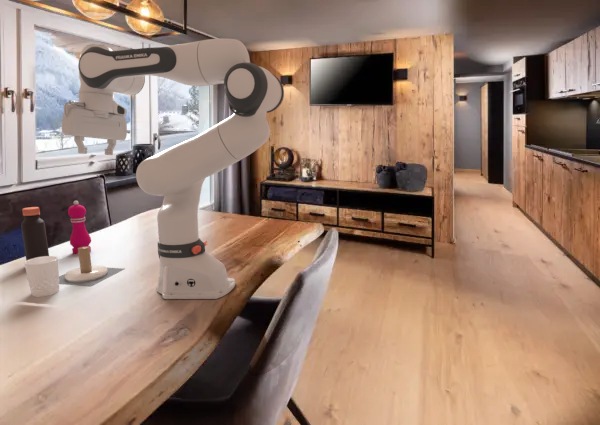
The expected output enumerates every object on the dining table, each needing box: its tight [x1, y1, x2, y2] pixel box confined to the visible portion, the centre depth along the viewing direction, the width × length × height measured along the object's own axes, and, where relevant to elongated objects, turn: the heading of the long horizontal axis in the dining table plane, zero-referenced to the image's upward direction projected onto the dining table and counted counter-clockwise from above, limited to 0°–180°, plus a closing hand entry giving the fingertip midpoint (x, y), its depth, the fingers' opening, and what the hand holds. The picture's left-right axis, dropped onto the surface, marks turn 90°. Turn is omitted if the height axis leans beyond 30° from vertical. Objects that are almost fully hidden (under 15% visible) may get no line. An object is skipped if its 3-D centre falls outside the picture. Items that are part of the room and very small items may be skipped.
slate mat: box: [59, 267, 125, 287], centre depth 129 cm, size 16×16×1 cm
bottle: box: [20, 206, 50, 261], centre depth 140 cm, size 7×7×20 cm
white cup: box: [24, 255, 60, 298], centre depth 115 cm, size 8×8×10 cm
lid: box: [64, 247, 108, 282], centre depth 128 cm, size 12×12×9 cm
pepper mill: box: [67, 200, 92, 255], centre depth 155 cm, size 7×7×20 cm
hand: (96, 154), depth 118 cm, fingers open, 8 cm apart
